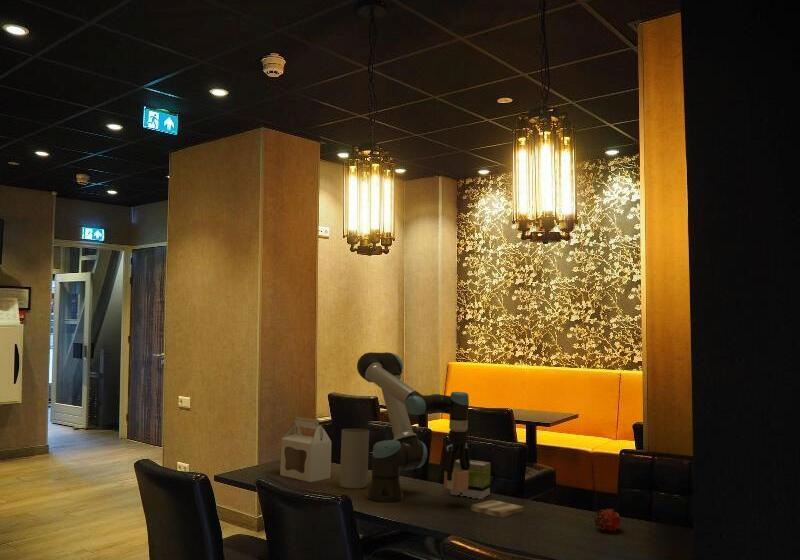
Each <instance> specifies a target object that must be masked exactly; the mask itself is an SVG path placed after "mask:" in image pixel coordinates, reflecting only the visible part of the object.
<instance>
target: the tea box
mask: <svg viewBox="0 0 800 560" xmlns="http://www.w3.org/2000/svg"><path fill="white" fill-rule="evenodd" d="M491 463H492V462H490V461H489V462H488V461H482V460H473V459H470V468H469V470H466V471H469V476H468V489H465V490H460V491H455V490H451V489H450V495H451V494H452V495H451V496H457V495H460V496H459V497H463V496H467V497H466V498H469V497H472V498H471V499H475V498H478V499H477V500H480V499H482V500H484V499H485V498H484V497H486V496H488V495H489V494H491V471H492V470H491V466H492V465H491ZM455 468H456V469H461V466H460V461H459V458H458V459H456V461H455V465H454V469H455ZM461 470H462V469H461ZM489 496H490V495H489ZM489 496H488V497H489ZM483 498H484V499H483ZM486 498H487V497H486Z"/></svg>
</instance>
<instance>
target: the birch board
mask: <svg viewBox="0 0 800 560" xmlns="http://www.w3.org/2000/svg"><path fill="white" fill-rule="evenodd" d="M524 509H525V506H523V505H518V504H513V503H510V502H509V503H508V502H504V501H499V500H495V499H491V500H487V501H482V502H480V503H479V502H477V503H474V504H471V505H470V511H472V512H476V513H479V514H484V515H489V516H492V517H493V516H494V517H497V518H502V519H503V518H504V519H505V518H507V517H510V515H511V516H514V515H517V514H516V513H518V514H520V513H519V512H521V513H523V512H522V511H524V512H525V510H524ZM513 514H514V515H513Z"/></svg>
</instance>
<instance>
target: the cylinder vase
mask: <svg viewBox="0 0 800 560" xmlns="http://www.w3.org/2000/svg"><path fill="white" fill-rule="evenodd" d="M369 440H370V430H368V429H365V428H343V429H341V442H340V445H341V446H340V447H341V448H340V467H339V468H340V469H339V486H340V487H342V488H343V489H350V490H351V489H353V490H358V489H364V488H366V487H367V486H368V474H369V473H368V471H369V445H370V444H369V443H370V442H369Z"/></svg>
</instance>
